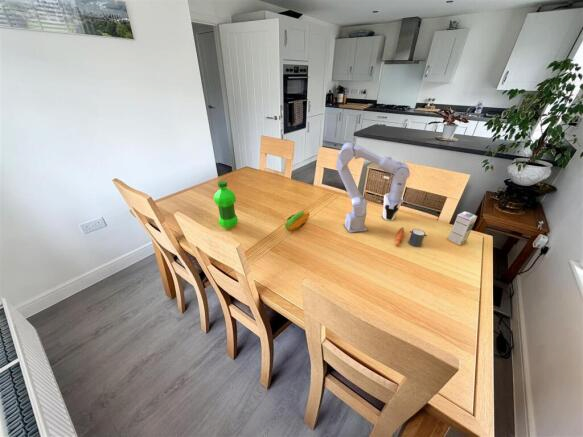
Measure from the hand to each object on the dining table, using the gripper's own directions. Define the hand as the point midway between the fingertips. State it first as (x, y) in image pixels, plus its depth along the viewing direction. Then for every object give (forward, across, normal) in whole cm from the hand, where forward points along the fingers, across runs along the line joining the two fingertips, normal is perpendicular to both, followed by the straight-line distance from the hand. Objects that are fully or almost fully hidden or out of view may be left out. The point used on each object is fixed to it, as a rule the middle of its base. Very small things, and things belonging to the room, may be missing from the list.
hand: (390, 215), depth 115 cm
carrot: (+10, -3, -7) cm, 12 cm away
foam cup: (+10, +16, +2) cm, 19 cm away
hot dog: (+10, -17, +42) cm, 47 cm away
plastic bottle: (+10, -36, +74) cm, 82 cm away
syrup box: (+10, +10, -31) cm, 34 cm away
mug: (+10, -3, -14) cm, 17 cm away
